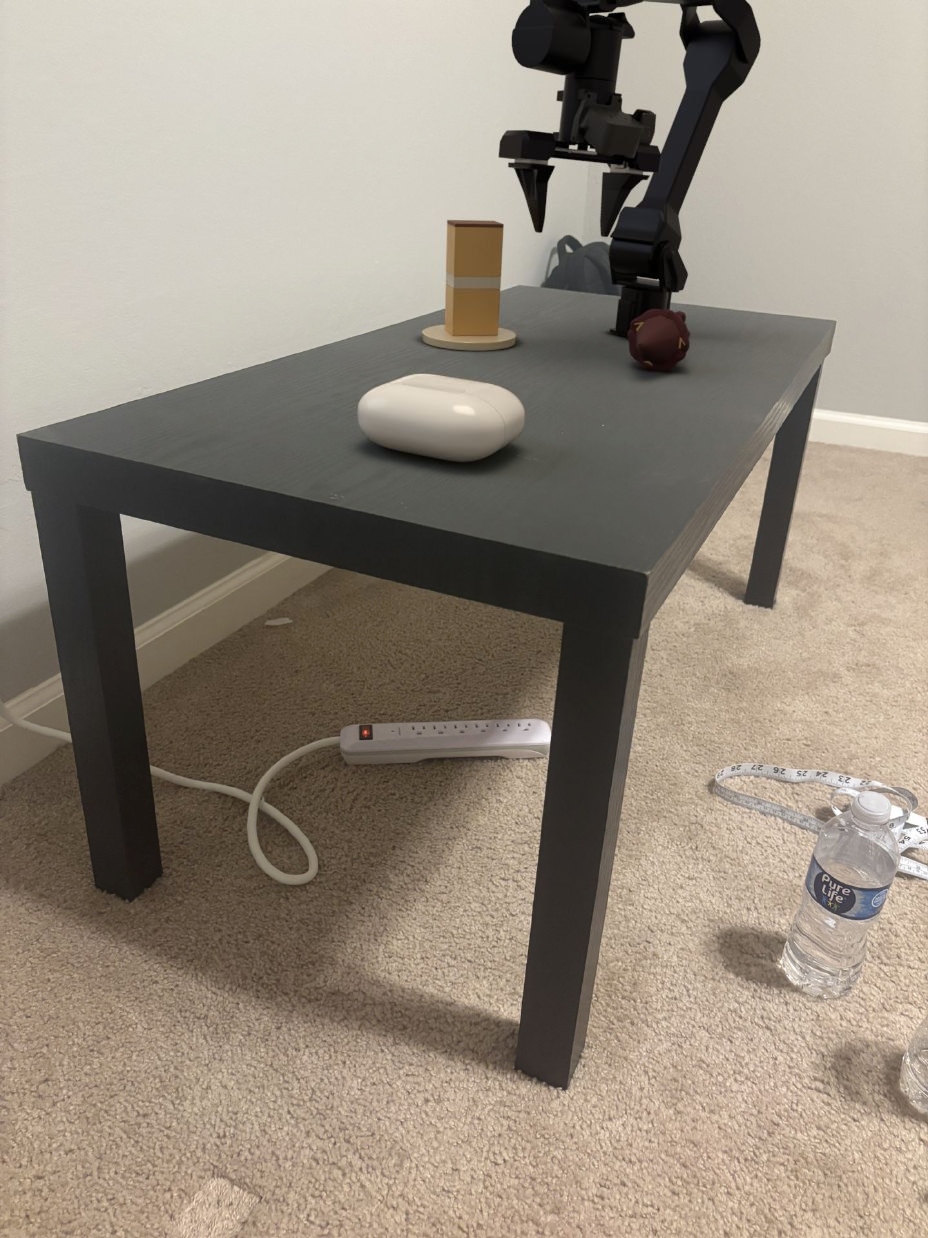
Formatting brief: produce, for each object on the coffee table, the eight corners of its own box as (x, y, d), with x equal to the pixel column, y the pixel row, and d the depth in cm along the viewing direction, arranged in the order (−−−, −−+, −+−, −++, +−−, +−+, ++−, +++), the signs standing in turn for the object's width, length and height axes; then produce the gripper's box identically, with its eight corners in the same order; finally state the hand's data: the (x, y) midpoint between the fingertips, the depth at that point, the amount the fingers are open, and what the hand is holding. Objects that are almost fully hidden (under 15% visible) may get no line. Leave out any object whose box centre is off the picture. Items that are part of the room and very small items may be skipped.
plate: (482, 328, 123) (483, 321, 123) (534, 346, 114) (534, 337, 114) (405, 335, 118) (405, 327, 117) (453, 354, 109) (453, 345, 108)
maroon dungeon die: (685, 325, 95) (715, 318, 107) (622, 300, 97) (658, 295, 109) (659, 388, 98) (690, 373, 111) (598, 362, 100) (636, 350, 113)
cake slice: (489, 328, 118) (494, 220, 112) (498, 335, 115) (503, 223, 108) (444, 328, 117) (447, 219, 111) (452, 335, 113) (455, 223, 107)
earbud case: (405, 421, 83) (405, 361, 80) (535, 445, 78) (540, 382, 75) (342, 450, 75) (339, 384, 72) (482, 479, 70) (485, 409, 67)
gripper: (556, 65, 89) (538, 236, 96) (703, 88, 97) (677, 244, 104) (503, 72, 98) (490, 227, 105) (642, 92, 106) (621, 236, 113)
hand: (572, 234), depth 106 cm, fingers open, 9 cm apart
